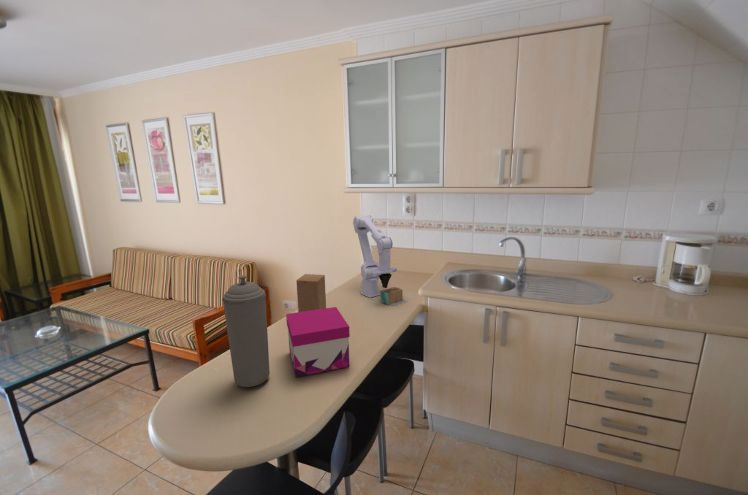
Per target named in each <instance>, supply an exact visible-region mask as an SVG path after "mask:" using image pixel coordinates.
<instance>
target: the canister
mask: <svg viewBox="0 0 748 495" xmlns="http://www.w3.org/2000/svg"><path fill="white" fill-rule="evenodd" d="M237 277H238V279H240V282H237V283H234V284H232V285H230V287H229V288H228V290H226V291H225V293H224V294H223V297H222V299H221V300H222V302H223V310H224V316H225V318H224V319H225V323H226V332H227V338H228V345H229V351H230V359H231V360H230V361H231V365H232V372H233V380H234V384H235V385H236V386H239V387H242V388H252V387H255V386H258V385H261V384H263V383H264V382H265V381H267V379H268V378H270V356H269V339H268V338H269V336H268V320H267V318H268V317H267V302H266V295H267V294H266V292H265V290H264V289H263V288H262V287H261V286H260V285H258V284H257V283H256V282H253V281H246V280H245V279H246V278H247V277H248V276H247V275H246V274H244V275H243V274H242V275H239V276H237Z"/></svg>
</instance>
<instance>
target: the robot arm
mask: <svg viewBox="0 0 748 495" xmlns="http://www.w3.org/2000/svg"><path fill="white" fill-rule="evenodd" d="M352 225H353V229H354V231H355V233H356V234H357V236H358V241H359V245H360V246H359V247H360V250H361V254H362V258H363V264H362V265H361V266H360V273H361V274H360V275H361V278H362V279H361V283H360V287H361V292H360V295H363V296H365V297H368V298H371V299H372V298H374V297H378V296H380V292H379V280H380V281H381V283H380V284H381V285H382V288H384V289H388V285H389V282H390V280H391V278H392V276H393V275H392V273H397V272H398V270H397V269H398V268H397V267H391V249H392V248H393V240H392V237H388V236H386V234H384V232H383V231H382V230H381V228H380V229H379V228H377V226H376V225H375V223H374V218H373V217H372V215H362V216H360V215H359V216H353V222H352ZM369 232H370V234H371V238H372V239H373V240H374V241H375V243H376V244H375V245H376V249H377V253H378V262H376V261H375V260H374V258H373V253H372V249H371V245H370V242H369V237H368V233H369Z"/></svg>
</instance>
